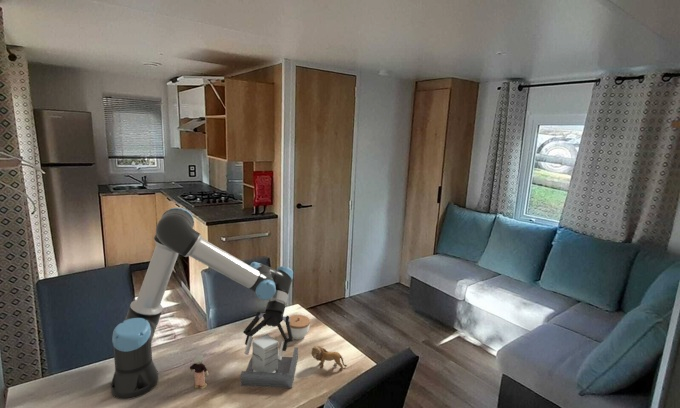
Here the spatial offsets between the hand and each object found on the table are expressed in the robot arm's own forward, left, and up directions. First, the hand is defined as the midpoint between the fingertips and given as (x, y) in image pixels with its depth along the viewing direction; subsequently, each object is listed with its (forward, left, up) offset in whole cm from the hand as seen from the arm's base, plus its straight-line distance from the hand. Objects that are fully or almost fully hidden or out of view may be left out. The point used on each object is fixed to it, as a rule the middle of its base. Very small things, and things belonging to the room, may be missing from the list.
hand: (262, 356), depth 138 cm
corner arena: (+3, +2, -8) cm, 9 cm away
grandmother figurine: (-22, -8, -8) cm, 24 cm away
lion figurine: (+25, +6, -8) cm, 27 cm away
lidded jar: (+10, +28, -8) cm, 31 cm away
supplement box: (+1, +2, -7) cm, 8 cm away
